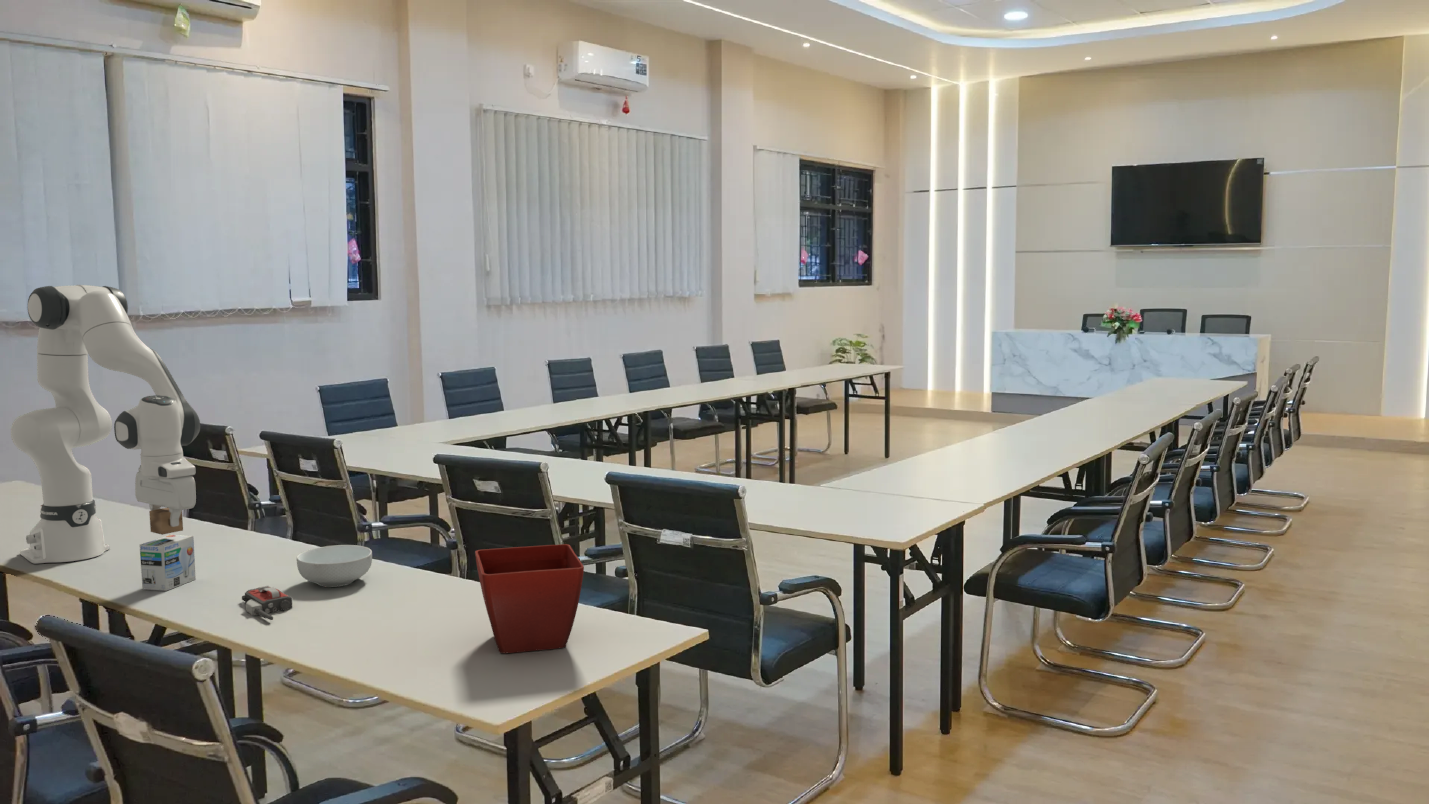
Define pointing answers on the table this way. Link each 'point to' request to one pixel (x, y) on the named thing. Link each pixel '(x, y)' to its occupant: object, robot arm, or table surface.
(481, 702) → the table surface
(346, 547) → the cereal bowl
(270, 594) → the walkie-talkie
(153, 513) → the walnut cube
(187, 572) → the light bulb box
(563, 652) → the table surface
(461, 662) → the table surface
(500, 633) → the plant pot
